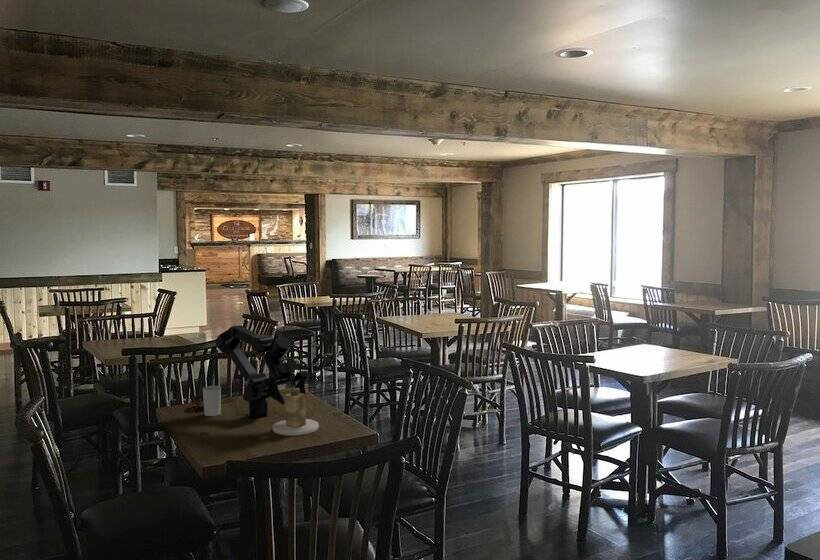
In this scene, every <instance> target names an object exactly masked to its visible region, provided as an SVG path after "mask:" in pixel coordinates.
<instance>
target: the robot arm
mask: <svg viewBox="0 0 820 560" xmlns="http://www.w3.org/2000/svg"><path fill="white" fill-rule="evenodd" d="M241 341H242V342H244V343H246V344H248V345H249V346H251V349H252V350H253V351H254V352H255V353H256V354H263V353H264V355H261V359H260V364H265V366H266V367H267V370H268V371H269V372H268V376H269V377H267V374H266V373H264V372H260V373H258V372H257V371H256V369H255V367H254V366H253V364H251V362H250V361H249V359H248V358H247V356H246V355H245V353H244V352H243V350H242V349H241ZM292 345H293V344H292V342H291V340H290V339H289V338H287V337H286V336H283V334H281V333H278V334H276V335H275V338H274V336H271V335H266V334H258V333H256V332H254V331H252V330H250V329H248V328H246V327H244V326H243V325H241V324H239V325H233V326H232V325H231V326H230V327H229V328H228V329H227V330H225V331H223V332H222V333H220V334H219V335H217V338H216V339H215V346H216V348H217V349H218V350H219V352H221V353H223V354H225V355H226V356H229V357H230V359H231V361H232V363H233V364H234V365H235V367H236V368H237V369H238V371H239V373H240V374H241V376H242V377H243V379H244V380H245V381H246V382H245V391H244V393H242V398H243V401H246V402H247V412H246V414H247V416H248V418H249V419H252V418H253V419H254V418H261V417H267V416H268V413H269V409H268V408H269V407H268V402H267V399H270V398H272V399H273V400H275V401H277V402H278V403H279V404H281V405H282V406H285V398H283V396H282V394H281V392H280V390H279V386H282V385H286V384H291V383H292V384H293V386H294V387H293V388H299V389H300V393H302V394H305V395H306V386H305V385H306V381H307V380H308V379H309V377H310V373H309V372H308V371H307V370H301V371H298V369H299V368H300V367H301V363H300V360H299V359H298V358H294V359H292V360H291V361H287V362H284V361H283V359H282V358H284V357H285V356H286V354H287V353H288V352H289V350H290V349H291V347H292ZM295 371H297V372H296V373H295V375H294V376H293V374H294V372H295ZM306 396H307V395H306Z"/></svg>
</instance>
